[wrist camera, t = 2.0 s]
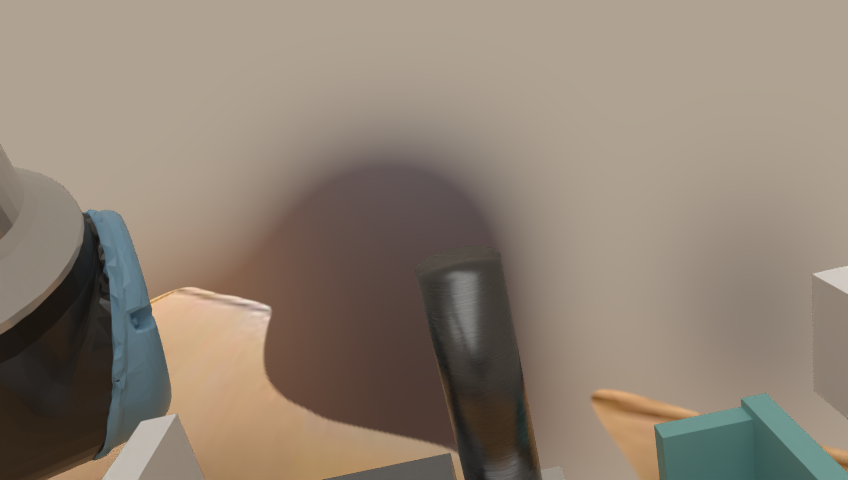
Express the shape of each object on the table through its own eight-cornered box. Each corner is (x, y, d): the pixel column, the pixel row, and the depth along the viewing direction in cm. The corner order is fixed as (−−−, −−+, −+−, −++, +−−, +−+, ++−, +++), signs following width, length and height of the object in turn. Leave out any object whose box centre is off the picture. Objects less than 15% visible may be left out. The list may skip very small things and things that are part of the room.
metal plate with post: (238, 707, 26) (81, 373, 20) (262, 605, 30) (138, 310, 25) (605, 634, 25) (548, 271, 20) (573, 542, 30) (519, 227, 24)
